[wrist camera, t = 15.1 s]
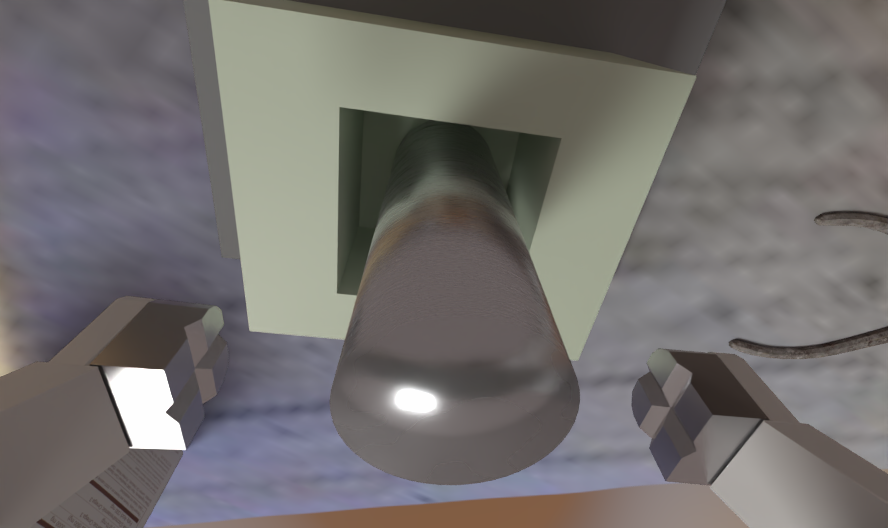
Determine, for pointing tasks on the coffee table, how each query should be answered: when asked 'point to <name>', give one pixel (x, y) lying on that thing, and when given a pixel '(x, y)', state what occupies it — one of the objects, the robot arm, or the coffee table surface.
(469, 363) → the grey cylindrical peg
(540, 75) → the frame
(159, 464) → the supplement box
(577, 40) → the mat
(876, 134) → the coffee table surface
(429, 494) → the coffee table surface
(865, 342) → the pliers
